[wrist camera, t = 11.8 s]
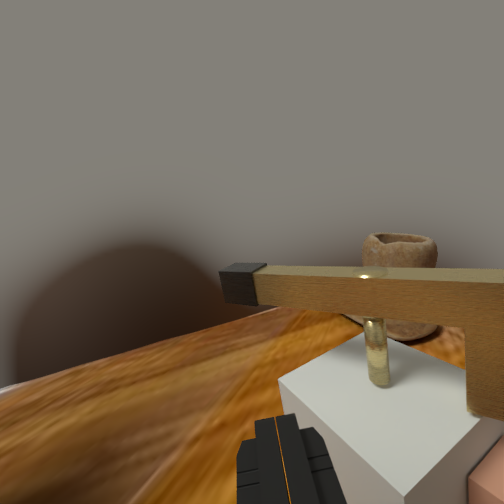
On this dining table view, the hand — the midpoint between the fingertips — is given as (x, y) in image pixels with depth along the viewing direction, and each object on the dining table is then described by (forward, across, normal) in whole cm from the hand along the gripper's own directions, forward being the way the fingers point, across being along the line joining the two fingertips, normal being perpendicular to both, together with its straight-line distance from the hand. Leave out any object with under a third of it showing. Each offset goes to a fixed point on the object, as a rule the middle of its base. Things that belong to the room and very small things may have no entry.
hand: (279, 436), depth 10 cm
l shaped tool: (+12, +6, -8) cm, 16 cm away
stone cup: (+33, +21, -16) cm, 42 cm away
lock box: (+11, +9, -16) cm, 21 cm away
